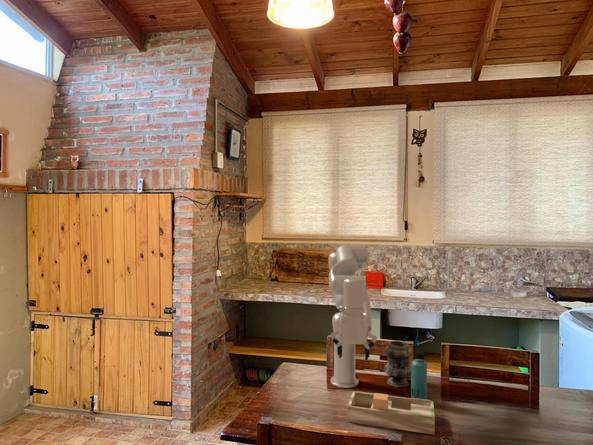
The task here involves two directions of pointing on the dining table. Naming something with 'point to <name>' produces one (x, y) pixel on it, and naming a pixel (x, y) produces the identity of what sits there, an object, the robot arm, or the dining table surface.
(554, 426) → the dining table surface
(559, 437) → the dining table surface
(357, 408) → the light wood long tray
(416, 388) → the beverage bottle
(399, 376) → the dark ribbed vase
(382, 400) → the block
